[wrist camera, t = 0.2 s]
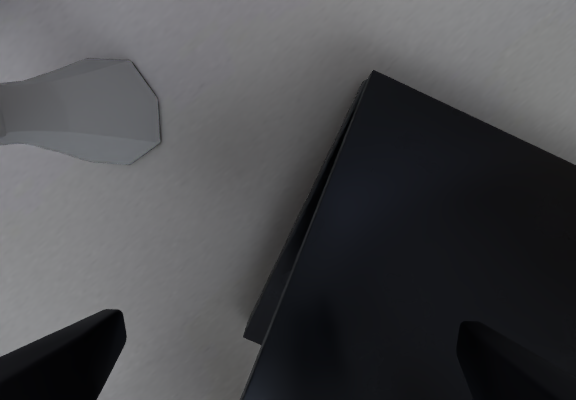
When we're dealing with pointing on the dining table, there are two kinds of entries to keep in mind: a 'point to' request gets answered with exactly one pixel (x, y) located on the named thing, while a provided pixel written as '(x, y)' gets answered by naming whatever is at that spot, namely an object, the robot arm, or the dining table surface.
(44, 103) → the flask
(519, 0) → the dining table surface
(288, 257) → the laptop
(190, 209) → the dining table surface
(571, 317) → the laptop screen
